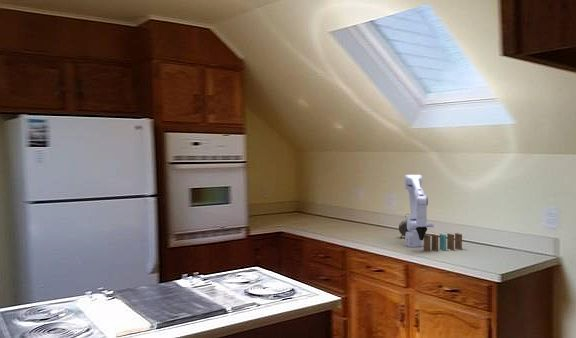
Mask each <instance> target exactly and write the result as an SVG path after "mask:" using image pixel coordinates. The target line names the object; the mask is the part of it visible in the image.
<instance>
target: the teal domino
mask: <svg viewBox="0 0 576 338" xmlns="http://www.w3.org/2000/svg"><path fill="white" fill-rule="evenodd" d="M439 250H441V251H444V252H446V251H447V234H444V233H439Z"/></svg>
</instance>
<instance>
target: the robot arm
mask: <svg viewBox="0 0 576 338" xmlns="http://www.w3.org/2000/svg"><path fill="white" fill-rule="evenodd" d="M422 182H423V176H422V174H405V175H404V188H405V189H406V191H408V198H409V207H410V215H409V216H408V217H406V218H407V219H406V220H407V229H408V231H409V232H406V233H405V236H404V246H407V247H409V248H416V247H417V248H418V247H419V248H420V247H424V244H423V241H424V235H426V233H427V231H428V228H435V224H434V223H428V222H427V211H428V208H427V207H428V204H429V197H428V196H427V194H425V191H424V189H423V188H422V187H421V186H422Z"/></svg>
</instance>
